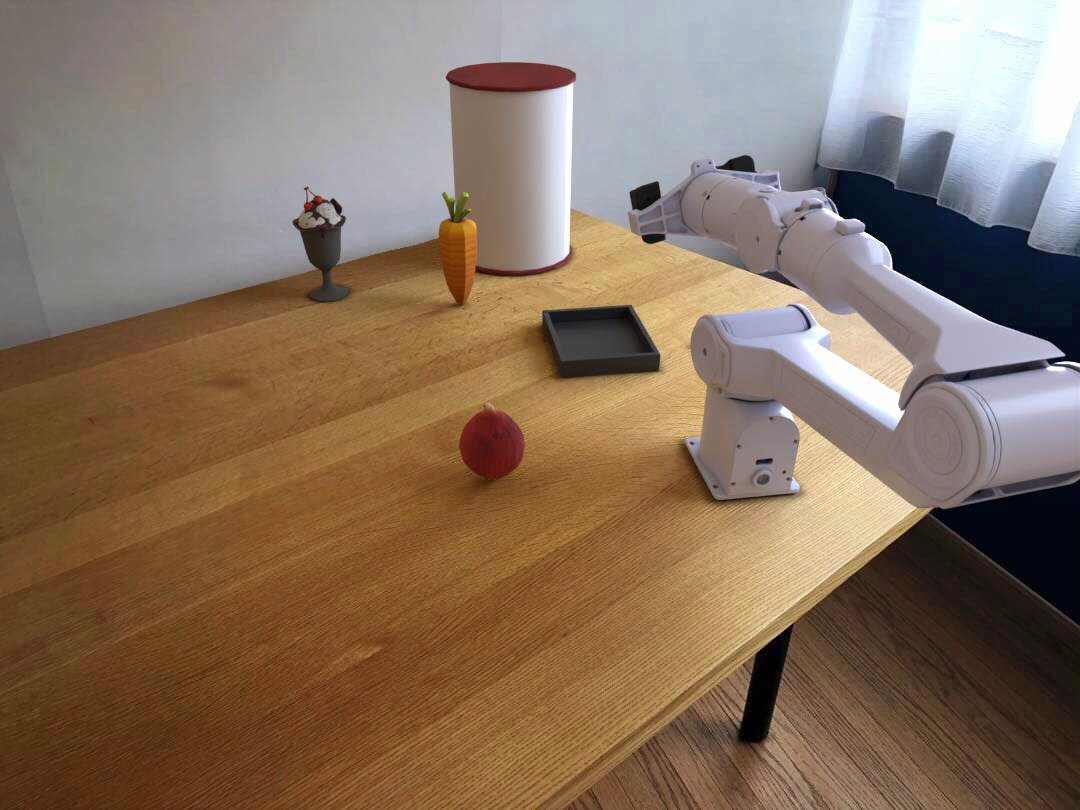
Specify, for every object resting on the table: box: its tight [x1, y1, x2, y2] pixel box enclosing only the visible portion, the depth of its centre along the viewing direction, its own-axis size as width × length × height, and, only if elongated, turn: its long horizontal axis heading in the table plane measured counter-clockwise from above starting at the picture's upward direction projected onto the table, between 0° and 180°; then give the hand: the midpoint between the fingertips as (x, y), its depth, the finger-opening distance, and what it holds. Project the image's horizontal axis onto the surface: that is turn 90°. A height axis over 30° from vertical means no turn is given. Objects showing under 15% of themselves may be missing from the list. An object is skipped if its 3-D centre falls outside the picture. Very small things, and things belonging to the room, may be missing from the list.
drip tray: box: [541, 304, 661, 379], centre depth 101 cm, size 13×11×2 cm
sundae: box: [291, 185, 349, 303], centre depth 110 cm, size 7×7×15 cm
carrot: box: [438, 191, 477, 307], centre depth 107 cm, size 5×5×15 cm
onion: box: [458, 402, 526, 481], centre depth 77 cm, size 6×6×8 cm
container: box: [445, 61, 577, 277], centre depth 120 cm, size 17×17×25 cm
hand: (668, 189), depth 87 cm, fingers open, 7 cm apart
